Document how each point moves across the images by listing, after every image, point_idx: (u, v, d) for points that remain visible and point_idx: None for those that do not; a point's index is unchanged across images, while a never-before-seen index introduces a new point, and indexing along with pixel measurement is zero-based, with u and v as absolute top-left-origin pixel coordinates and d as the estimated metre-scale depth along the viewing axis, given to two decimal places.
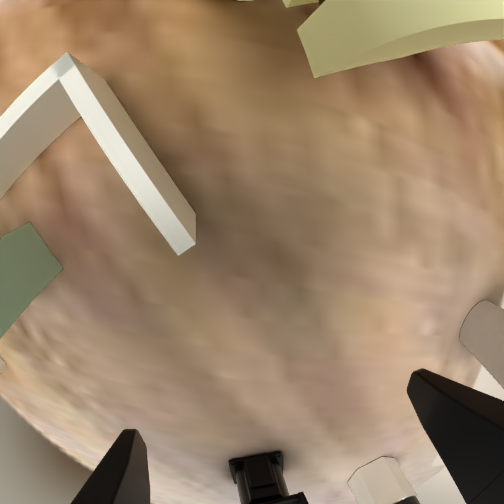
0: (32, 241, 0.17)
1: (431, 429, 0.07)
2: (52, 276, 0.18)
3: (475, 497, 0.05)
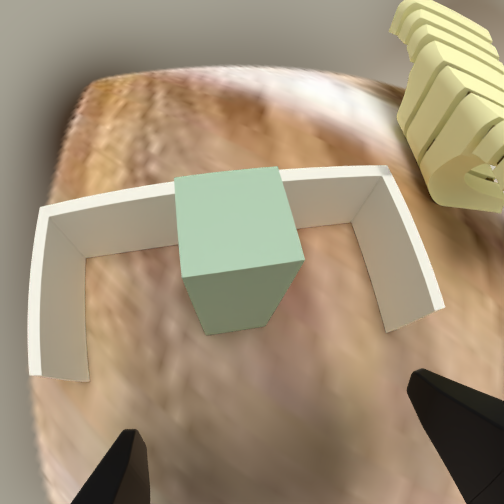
0: None
1: (431, 429, 0.07)
2: None
3: (475, 497, 0.05)
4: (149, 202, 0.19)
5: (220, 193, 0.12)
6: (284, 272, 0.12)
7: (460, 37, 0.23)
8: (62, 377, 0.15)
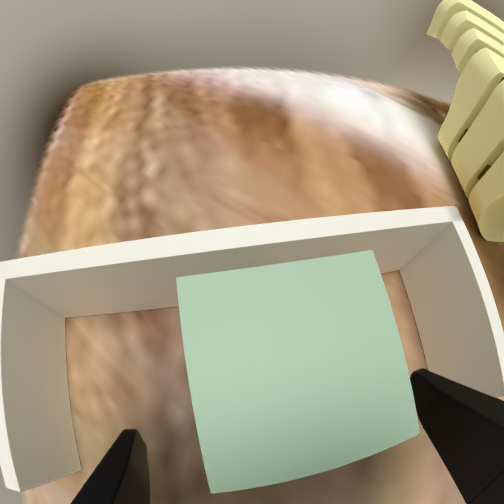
0: None
1: (431, 429, 0.07)
2: None
3: (475, 497, 0.05)
4: (139, 266, 0.13)
5: (274, 317, 0.06)
6: None
7: None
8: (47, 481, 0.09)
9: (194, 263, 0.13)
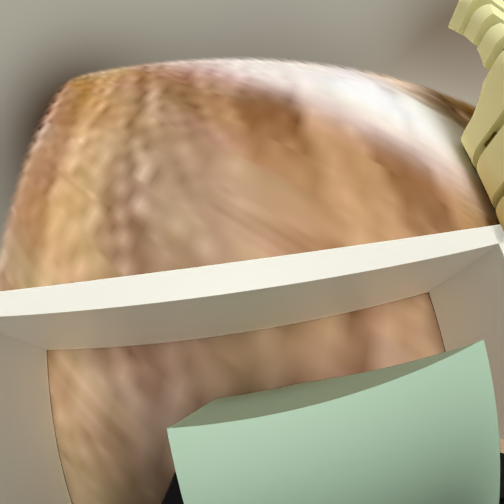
0: None
1: None
2: None
3: None
4: (123, 311, 0.09)
5: (347, 485, 0.03)
6: None
7: None
8: None
9: (195, 307, 0.10)
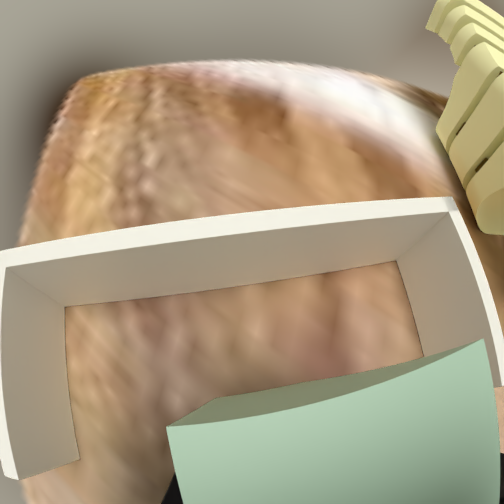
0: None
1: None
2: None
3: None
4: (138, 252, 0.13)
5: (347, 484, 0.03)
6: None
7: None
8: (45, 470, 0.09)
9: (192, 250, 0.14)
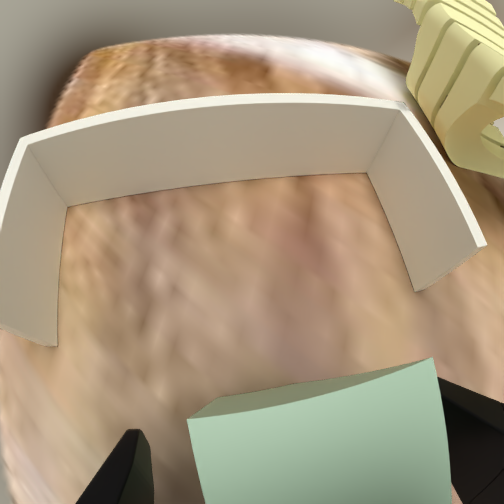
0: None
1: None
2: None
3: (472, 499, 0.05)
4: (139, 123, 0.15)
5: (315, 463, 0.04)
6: None
7: (465, 5, 0.20)
8: (18, 329, 0.12)
9: (181, 123, 0.16)
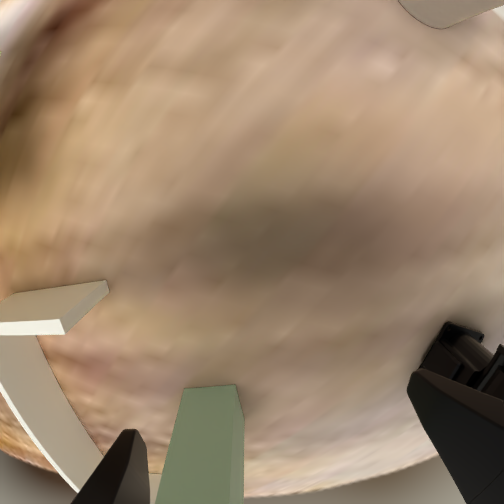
0: (198, 396, 0.23)
1: (431, 429, 0.07)
2: (232, 398, 0.22)
3: (475, 497, 0.05)
4: (66, 470, 0.20)
5: None
6: (231, 502, 0.13)
7: None
8: None
9: (56, 453, 0.20)
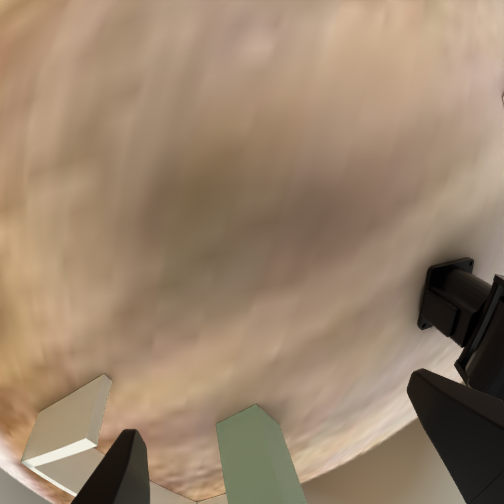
0: (230, 427, 0.24)
1: (431, 429, 0.07)
2: (258, 419, 0.23)
3: (475, 497, 0.05)
4: None
5: None
6: None
7: None
8: None
9: None
